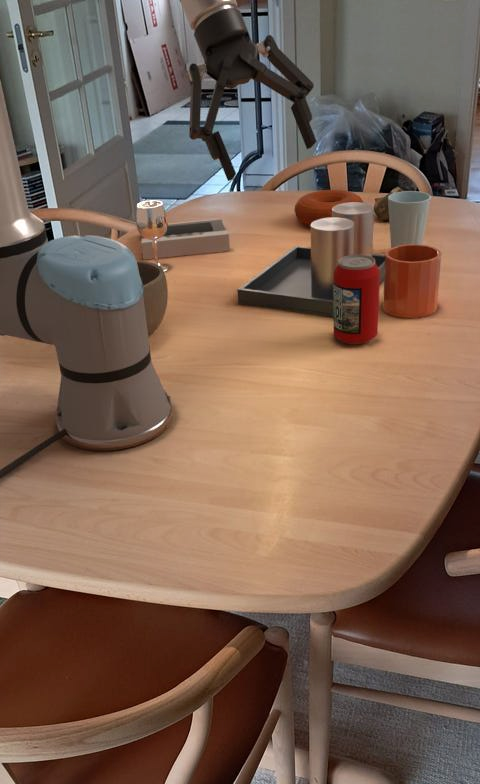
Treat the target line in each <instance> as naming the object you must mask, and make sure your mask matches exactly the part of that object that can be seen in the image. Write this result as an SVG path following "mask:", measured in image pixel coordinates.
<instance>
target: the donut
mask: <svg viewBox="0 0 480 784" xmlns="http://www.w3.org/2000/svg"><path fill="white" fill-rule="evenodd" d="M349 202H362V203H365V202H364V200H363V199H362V197H361V195H358V194H356V193H355V192H353V191H349V190H343V189H322V190H316V191H312V192H309V193H306V194H305V195H303V196H301V197H300V198H299V199H298V200H297V201H296V203H295V205H294V209H293V210H294V215H295V217H296V219H297V220H298V221H299V222H300V223H302V224H303V225H305V226H308V227H311V223H312V222H314V221H316V220H319V219H323V218H331V217H332V208H333V207H334V206H336V205H338V204H342V203H349Z"/></svg>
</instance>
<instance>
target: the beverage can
mask: <svg viewBox="0 0 480 784" xmlns="http://www.w3.org/2000/svg"><path fill="white" fill-rule="evenodd" d="M379 278H380V271H379V269H378V267H377V265H376V263H375V259H374V258H373V257H371V256H367V255H349V256H345V257H342V258H341V259H339V261H338V265H337V267H336V268H335V270H334V284H333V317H332V318H333V336H334V337H335V338H336V339H337V340H340V341H341V342H342V343H344V344H348V345H362V344H366V343H368V342H369V341H371V340H373V339H374V338H375V337H376V336H377V335H378V327H379V310H380V309H379V307H380V284H379Z"/></svg>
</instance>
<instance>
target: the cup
mask: <svg viewBox="0 0 480 784" xmlns="http://www.w3.org/2000/svg"><path fill="white" fill-rule="evenodd" d="M403 191H404V192H397V193H393V194H391V195H389V196H388V207H389V219H388V221H389V235H390V236H389V237H390V248H393V247H395V246H401V245H410V244H418V245H424V239H425V234H426V228H427V221H428V216H429V210H430V205H431V199H432V195H431V194H429V193H427V192H423V191H417V190H403Z"/></svg>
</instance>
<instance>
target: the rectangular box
mask: <svg viewBox="0 0 480 784" xmlns="http://www.w3.org/2000/svg"><path fill="white" fill-rule="evenodd" d="M140 241H141V242H140V243H141V250H142V257H143V261H145V260H153V259H154V260H155V253H154V249H153V247H152V242H153V240H150V239H146V238H144V237H142V236H141V240H140ZM156 242H157V258H158V259H164V258H173V257H182V256H183V257H184V256H192V255H193V256H194V255H201V254H202V255H203V254H213V253H222V252H230V250H231V248H230V234H229V231H227V230H226V228H225V225H224V223H223V219H222V218H212V219H202V220H192V221H182V222H181V221H180V222H172V223H171V222H170V223H168V226H167V231H166V233H165V234H164V235H163V236H162V237H161V238H159V239H156Z"/></svg>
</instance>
